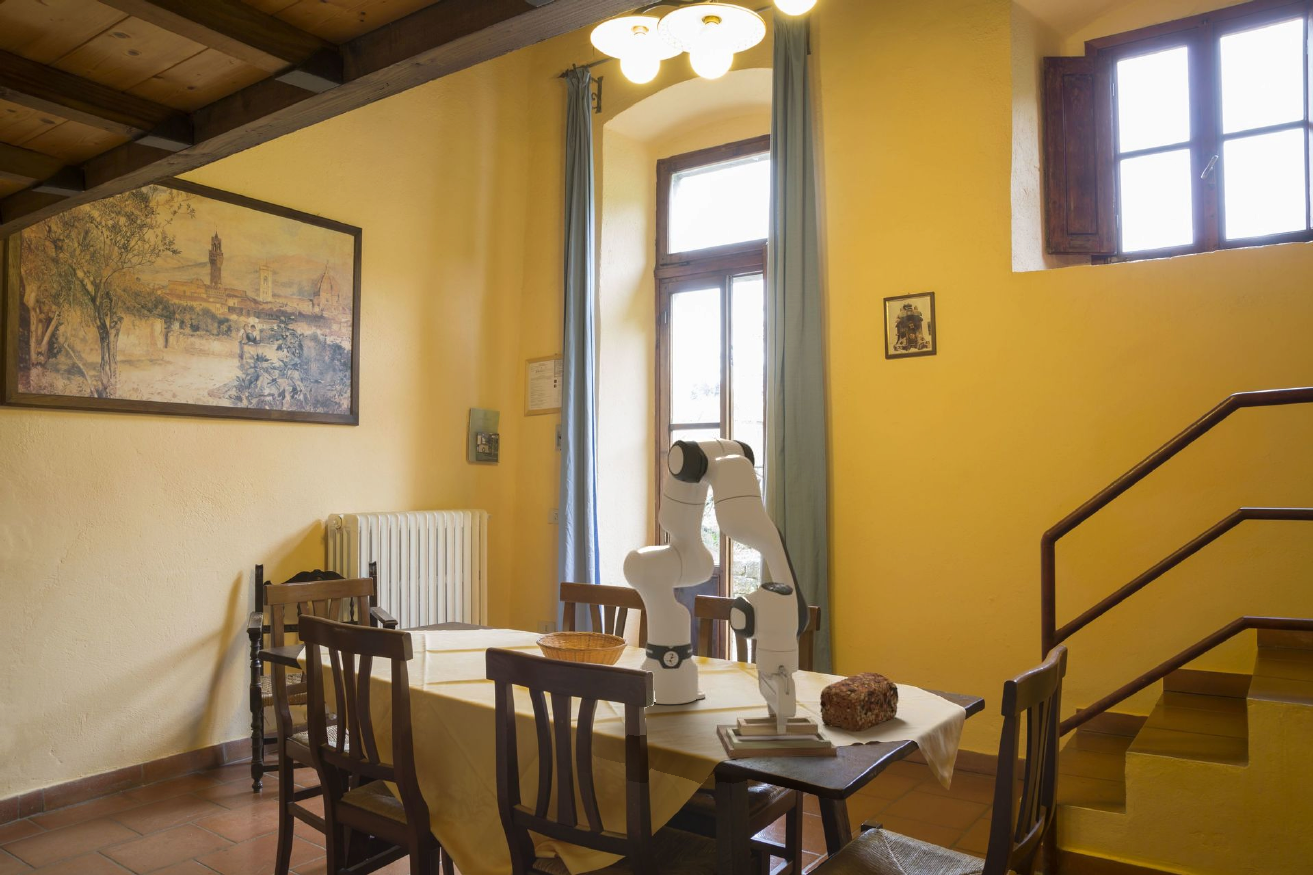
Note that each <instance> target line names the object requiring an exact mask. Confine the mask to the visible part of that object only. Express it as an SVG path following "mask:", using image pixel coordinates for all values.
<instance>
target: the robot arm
mask: <svg viewBox="0 0 1313 875" xmlns="http://www.w3.org/2000/svg"><path fill="white" fill-rule="evenodd" d="M755 460H756V459H755V454H754V451H753V449H752V447H751V446H750V445H749V444H748V443H746V442H744V441H740V440H737V439H734V440H733V439H732V440H731V439H726V438H719V437H718V438H717V437H711V438H710V437H709V438H691V437H690V438H689V437H688V438H681V439H678V440H676V441H674V442H673V444H672V445H671V447H670V449H669V451H668V454H667V467H668V470H669V471H668V474H667V477H666V480H665V484H664V487H663V493H662V496H661V502H660V507H659V510H658V517H657V518H658V523H659V525H660V527H661V528H662V530H664V532H666V533H668V535H670V536H669V537H670V538H669V543H668V544H666V545H648V546H642V547H639V548H636V549H633V550H631V551H629V552H628V553H627V555H626V556H625V558H624V562H623V565H622V566H623V567H622V569H623V577H624V579H625V580H626V582H627V583H628V585H630V586H631V588H633V589H634V590H636V592H637V593H638V595H639V596H640V598H641V600H642V601H643V604H644V607H645V611H646V621H647V622H646V624H647V641H646V642H645V647H644V648H645V656H646V658H645V660H644V661H643V662H642V663H641V665H640V667H639V668H638V669H642V670H646V671H652V673H654V691H655V699H656V703H655V704H659V705H681V704H686V703H687V704H688V703H691V702H694V701H696V699H697V700H700V699H701V700H702V699H704V697H705V698H706V693H705V692H704V691H703V690H701V689H699V666H698V664H697V663H696V662H695V661H694V660H693V658H692V657H693V643H692V641H691V623H692V622H691V621H692V620H691V618H692V617H691V613H690V611H689V609H688V608H687V607H686V606H685V605H683V604H682V603H680V602H678V600H677V599H676V597H675V593H674V591H675V590H674V588H687V587H695V586H698V585H701V584H703V583H706V582H708V581H710V579H711V578H712V576H713V574H714V571H715V560H714V557H713V555H712V553H711V551H710V550H709V549H708V547H706V545H705V544H704V542H703V537H702V522H703V518H704V513H705V512H704V511H705V509H706V508H705V507H706V503H707V498H708V491H709V488H710V486H711V489H712V495H713V496H712V497H713V505H714V506H713V507H714V513H715V518H716V522H717V526H718V527H719V530H720V531H721V533H723V534H724V535H725V536H726V537H727V538H729V539H730V540H732V541H734V542H736V543H739V544H742V545H745V546H747V547H749V548H752V549H753V550H755V551H756V552H758V553H759V554H760V555H761V556H762V558H764V560H765V562H766V563H767V567H768V570H769V573H770V577H771V580H772V582H770V581H769V582H764V583H762V584H760V585H759V586H758V588H757V590H754V591H753V592H751V593H748V594H747V593H746V594H744V595H741V596H740V595H739V596H737V597H736V598H735V599H734V600H733V602H732V604H731V605H730V608H729V614H728V616H729V618H728V619H729V625H730V628H731V629H732V632H734V634H735V635H737V637H739V638H741V639H746V640H756V646H755V653H754V661H755V663H756V664H755V669H756V670H757V680H758V689H759V693H760V695H761V696H762V697H763V699H764V700H765V701H766V707H767V712H768V716H767V717H777V723H776V731H777V733H778V734H785V733H786V724H787V720H788V718H789V717H796V714H797V693H796V681H795V679H794V678H793V674H794V673H796V672H798V671H799V645H798V644H799V643H798V640H797V638H799V637H800V636H801V635H802V634H803V633H804V632H805V631H806V629H807V627H808V625H809V624H810V620H811V611H810V607H809V605H808V603H807V600H806V598H805V596H804V594H803V592H802V590H801V588H800V585H799V582H798V578H797V576H796V572H795V569H794V566H793V562H792V560H791V557H790V553H789V550H788V548H787V544H786V541H785V539H784V536H783V533H782V531H781V530H780V528H779V526H778V525H776V524H775V523H774V522H772V520H771V518H770V516H769V515H768V513H767V511H766V509H765V506H764V502H763V497H762V493H761V492H762V491H761V486H760V483H759V480H758V475H757V474H756V471H755V464H756V463H755V462H756V461H755Z"/></svg>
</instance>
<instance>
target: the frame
mask: <svg viewBox="0 0 1313 875" xmlns="http://www.w3.org/2000/svg"><path fill="white" fill-rule="evenodd" d="M776 723H777V717H768V716H762V717H761V716H760V717H757V716H756V717H752V716H749V717H745V716H744V717H736V725H737V728H738V730H739V731H740V733H741V735H803V734H818V728H819V724H818V723H817V721H815V719H814V718H813V717H812V716H795V717H789V718H788V720H787V724H786V733H785V734H778V733H777V731H776Z"/></svg>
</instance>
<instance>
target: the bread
mask: <svg viewBox="0 0 1313 875" xmlns="http://www.w3.org/2000/svg"><path fill="white" fill-rule="evenodd" d="M898 689H899V688H898V687H897V685H896V684H895V683H894V682H892V681H891V680H890V679H889V678H887V677H885V676H884V675H882V674H878V673H876V672H865V671H864V672H861V673H858V674H855V675H852V676H849V677H847V678H844V679H841V680H839V681H837V682H834V683H831V684H829V685H827V686H825V687H824V688H823V689H822V691H821V692H820V699H819V700H820V711H819V712H820V713H821V720H822V723H824V724H826V725H829V726H831V725H832V726H831V727H834V728H835V727H839V728H840V727H841V728H842V729H845V730H846V729H848V730H850V731H852V732H857V733H858V732H861V731H862V730H866V729H865V728H867V727H869V728H872V727H874V726H877V725H879V724H881V723H883V722H886V720H887V721H889V720H892V719H893V718H894V717H897V716H896V715H897V712H898V703H899V700H900V699H899V693H898ZM888 719H889V720H888ZM878 723H879V724H878ZM876 724H877V725H876ZM873 725H874V726H873ZM871 726H872V727H871ZM867 729H868V728H867ZM848 730H847V731H848Z"/></svg>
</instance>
